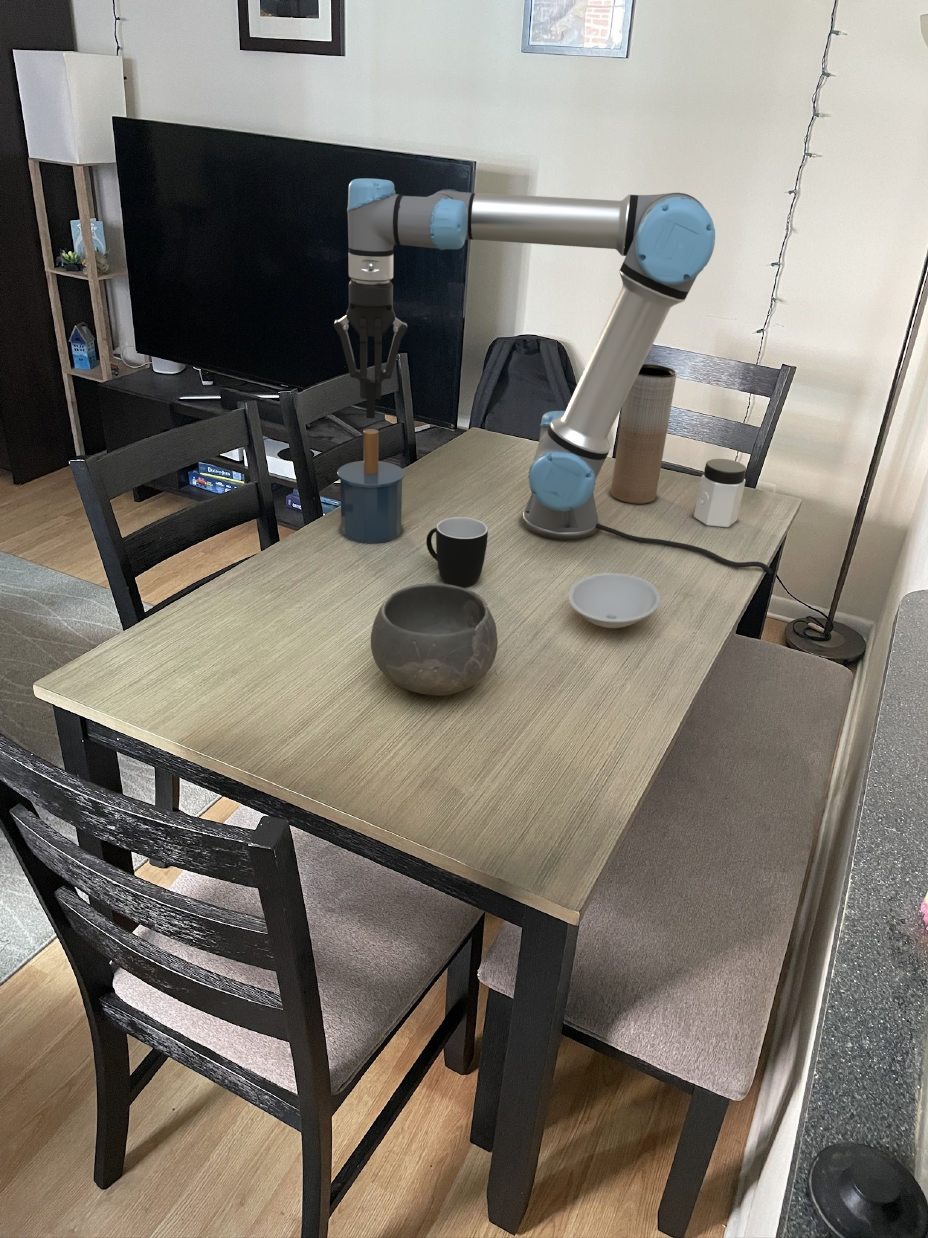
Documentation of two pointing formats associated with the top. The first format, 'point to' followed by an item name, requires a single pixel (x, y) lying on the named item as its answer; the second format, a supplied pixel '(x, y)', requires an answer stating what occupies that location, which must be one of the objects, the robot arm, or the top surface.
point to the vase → (643, 435)
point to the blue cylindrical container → (371, 512)
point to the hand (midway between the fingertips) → (370, 415)
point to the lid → (371, 466)
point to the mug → (459, 549)
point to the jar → (720, 492)
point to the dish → (614, 599)
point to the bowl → (434, 638)
